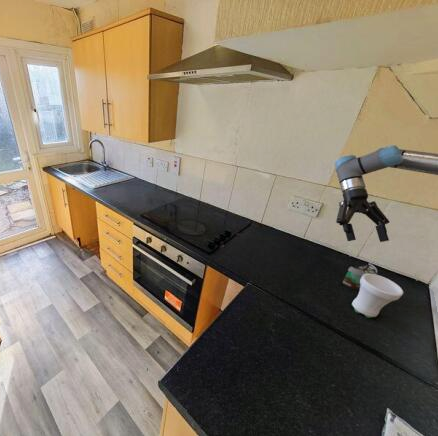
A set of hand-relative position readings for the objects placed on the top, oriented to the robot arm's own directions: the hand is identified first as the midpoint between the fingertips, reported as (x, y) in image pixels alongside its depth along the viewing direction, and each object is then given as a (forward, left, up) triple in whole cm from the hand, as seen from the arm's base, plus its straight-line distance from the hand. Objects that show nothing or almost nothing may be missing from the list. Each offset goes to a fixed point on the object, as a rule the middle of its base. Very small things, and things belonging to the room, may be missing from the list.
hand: (368, 240), depth 88 cm
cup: (-6, +11, -25) cm, 28 cm away
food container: (-6, -5, -25) cm, 26 cm away
